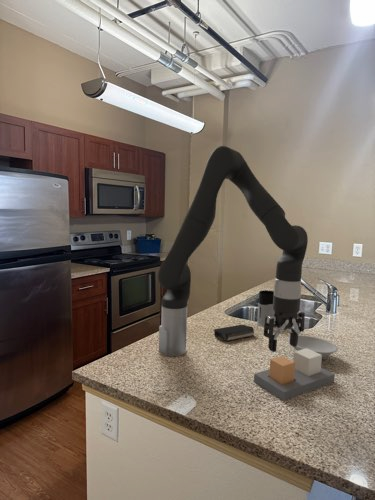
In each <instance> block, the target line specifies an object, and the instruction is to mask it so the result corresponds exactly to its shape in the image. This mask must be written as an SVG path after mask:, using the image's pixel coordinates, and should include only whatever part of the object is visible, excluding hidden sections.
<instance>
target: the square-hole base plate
mask: <svg viewBox="0 0 375 500" xmlns="http://www.w3.org/2000/svg"><path fill="white" fill-rule="evenodd" d="M293 355H294V356H293V362H295V371H294V381H293V382H290V383H287V384H284V385H281V384H280V383H278V382H276V381H275V380H273V379H271V378H270V377H269V374H270V368H268V369H266V370H263V371H259V372H256V373H253V374H254V375H253V382H254V383H255V384H257V385H258V386H260V387H262V388H263V389H265V390H266V391H268V392H269V393H271V394H272V395H274V396H275V397H277V398H278V399H280V400H282V401H287V400H290V399H292V398H295V397H297V396H300V395H303V394H306V393H308V392H311V391H313V390H316V389H319V388H321V387H324V386H327V385H329V384H332V383H334V382H335V375H336V374H335V373H333V372H331V371H329V370H327V369H325V368H323V367H322V359H323V357H322V355H321V354H319V353H316V352H314V351H312V350H310V349H307V348H306V349H302V350H299V351H297V350H295V351H294V353H293Z"/></svg>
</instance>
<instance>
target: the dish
mask: <svg viewBox="0 0 375 500" xmlns="http://www.w3.org/2000/svg"><path fill="white" fill-rule="evenodd" d="M287 342H288V343H289V344H290V336H288V338H287ZM293 348H294V350H295V351H299V350H302V349H306V348H307V349H310V350H312V351H314V352H316V353H319V354H321V355H322V358H325V357H328V356H330V355H332V354H333V353H337V352H338V350H339V347H338V346H337V344H335V343H333V342H331V341H329V340H328V339H324V338H320V337H316V336H312V335H304V334H302V335H301V334H299V335H298V343H297V346H296V347H293Z"/></svg>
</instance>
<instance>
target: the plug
mask: <svg viewBox="0 0 375 500" xmlns="http://www.w3.org/2000/svg"><path fill="white" fill-rule="evenodd" d="M269 369H270V374H269V377H270V378H271V379H273V380H275V381H276V382H278V383H280V384H281V385H284V384H287V383H290V382H293V381H294V371H295V362H294V360H291V359H289V358H287V357H285V356H283V355H281V356H276V357H274V358H270V360H269Z"/></svg>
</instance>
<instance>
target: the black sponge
mask: <svg viewBox="0 0 375 500" xmlns="http://www.w3.org/2000/svg"><path fill="white" fill-rule="evenodd" d="M213 333H214V337H217V338H219V339H221V340H224V341H226V342H227V341H232V340H237V339H242V338H245V337H246V338H247V337H250V336H251V337H252V336H253V335H254V334H255V329H254V327H253V326H249V325H245V324H237V325H231V326H225V327H220V328H215V329H213Z"/></svg>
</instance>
